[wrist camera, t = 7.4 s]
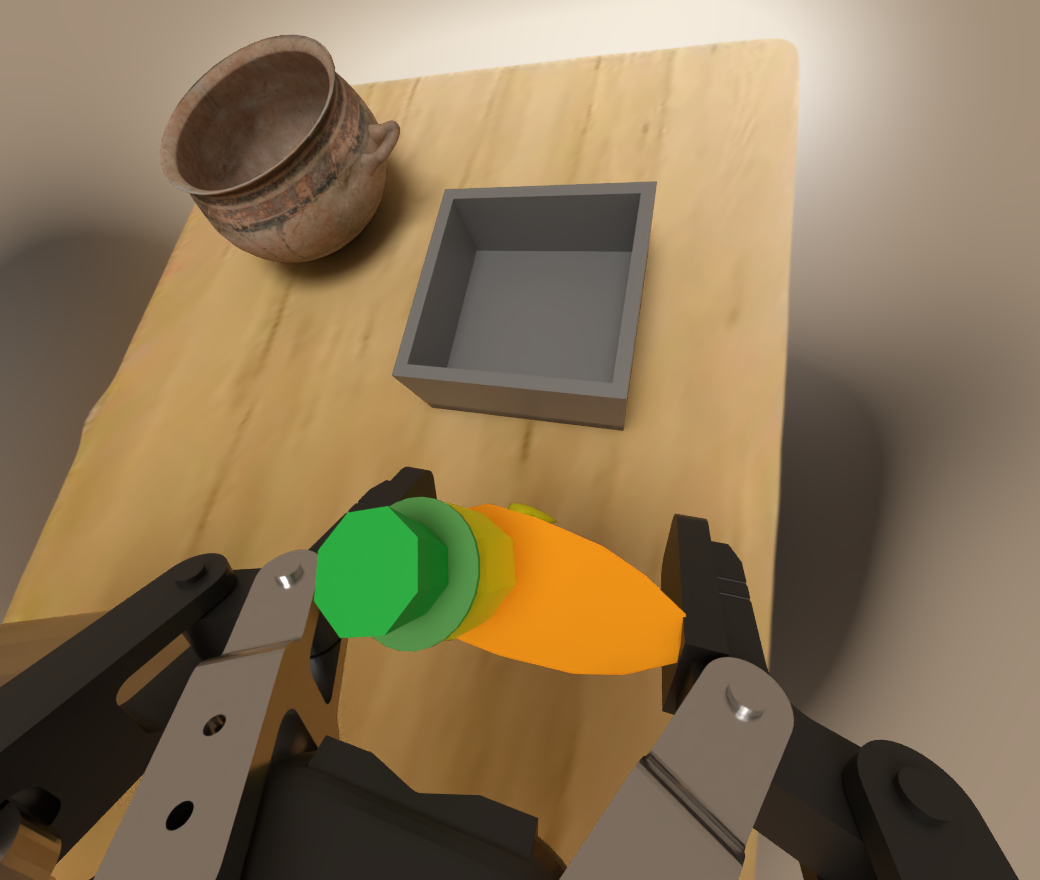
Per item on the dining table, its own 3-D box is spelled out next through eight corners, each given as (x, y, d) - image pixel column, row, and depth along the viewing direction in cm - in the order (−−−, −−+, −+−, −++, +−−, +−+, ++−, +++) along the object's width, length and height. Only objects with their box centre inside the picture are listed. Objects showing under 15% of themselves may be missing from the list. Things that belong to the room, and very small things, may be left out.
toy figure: (652, 546, 15) (778, 529, 4) (631, 642, 14) (716, 964, 3) (492, 500, 17) (265, 400, 6) (467, 584, 16) (150, 656, 5)
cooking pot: (449, 141, 44) (393, -1, 33) (426, 286, 40) (351, 179, 28) (267, 172, 50) (165, 60, 39) (228, 301, 45) (98, 218, 34)
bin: (432, 407, 36) (391, 375, 29) (472, 249, 40) (445, 189, 33) (623, 430, 31) (626, 399, 25) (648, 250, 35) (656, 181, 29)
